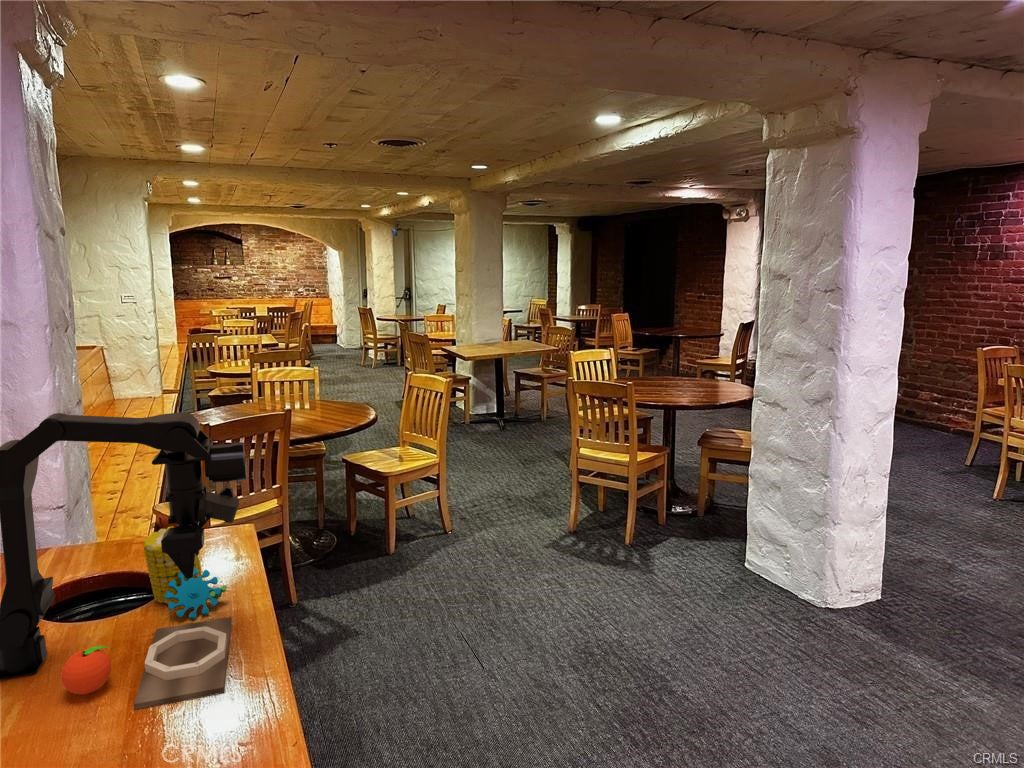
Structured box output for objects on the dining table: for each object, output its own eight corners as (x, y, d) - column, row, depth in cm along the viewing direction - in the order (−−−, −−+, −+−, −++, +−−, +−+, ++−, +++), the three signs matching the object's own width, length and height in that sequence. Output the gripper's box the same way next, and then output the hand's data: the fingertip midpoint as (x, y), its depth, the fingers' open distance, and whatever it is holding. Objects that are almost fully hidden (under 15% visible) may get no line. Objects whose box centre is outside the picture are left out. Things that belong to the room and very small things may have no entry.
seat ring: (141, 684, 109) (140, 676, 109) (154, 642, 120) (153, 634, 120) (223, 670, 113) (222, 661, 113) (228, 630, 125) (227, 622, 124)
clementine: (105, 668, 115) (100, 631, 113) (128, 681, 111) (124, 643, 110) (55, 694, 108) (49, 655, 107) (78, 709, 105) (72, 669, 103)
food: (213, 595, 142) (172, 620, 133) (173, 572, 146) (131, 596, 137) (216, 534, 137) (175, 556, 128) (175, 513, 141) (131, 533, 132)
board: (134, 709, 105) (133, 704, 105) (156, 633, 125) (156, 628, 125) (224, 692, 109) (223, 687, 109) (231, 621, 129) (231, 616, 129)
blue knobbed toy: (163, 619, 127) (166, 568, 132) (162, 628, 131) (166, 578, 136) (226, 614, 132) (227, 565, 137) (224, 622, 136) (224, 575, 141)
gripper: (230, 498, 111) (237, 584, 115) (237, 464, 129) (243, 539, 132) (156, 506, 108) (165, 593, 111) (173, 469, 125) (181, 546, 128)
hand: (192, 566), depth 121 cm, fingers open, 9 cm apart
